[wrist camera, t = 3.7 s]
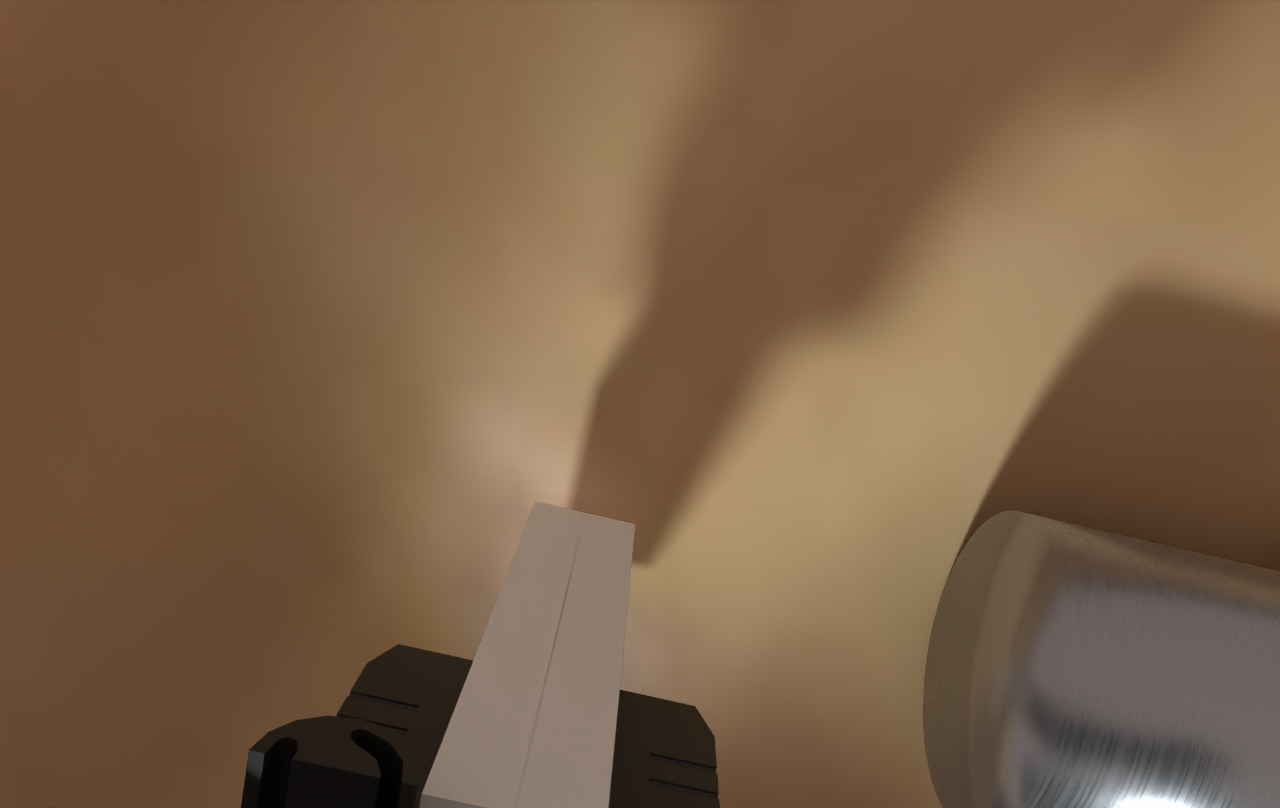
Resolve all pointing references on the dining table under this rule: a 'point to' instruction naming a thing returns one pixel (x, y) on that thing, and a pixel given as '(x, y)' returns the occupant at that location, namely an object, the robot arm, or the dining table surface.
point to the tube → (1101, 674)
